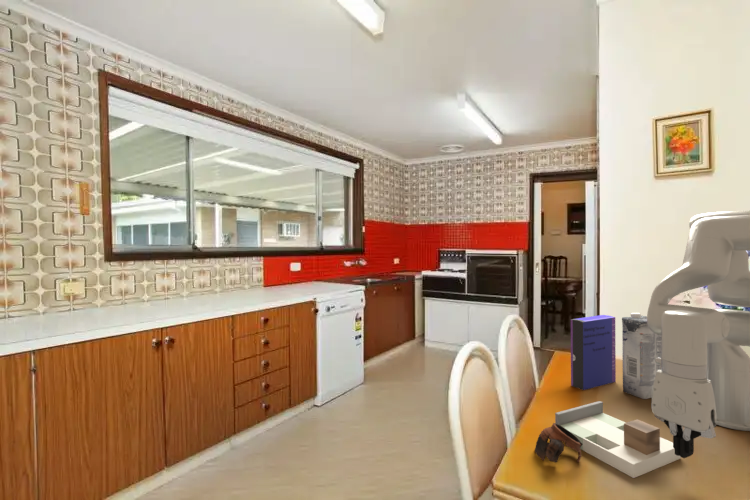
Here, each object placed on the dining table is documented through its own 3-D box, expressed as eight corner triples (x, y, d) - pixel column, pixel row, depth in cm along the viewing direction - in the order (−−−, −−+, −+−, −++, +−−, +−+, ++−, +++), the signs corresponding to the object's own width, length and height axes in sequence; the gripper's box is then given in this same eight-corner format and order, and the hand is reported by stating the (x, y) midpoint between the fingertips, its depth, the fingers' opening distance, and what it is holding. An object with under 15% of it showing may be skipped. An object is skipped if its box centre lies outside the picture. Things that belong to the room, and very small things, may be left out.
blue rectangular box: (602, 377, 140) (602, 314, 140) (615, 382, 136) (615, 316, 136) (571, 385, 133) (570, 318, 133) (583, 390, 129) (583, 321, 128)
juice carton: (666, 396, 123) (666, 314, 122) (645, 401, 119) (645, 317, 119) (638, 386, 131) (638, 310, 131) (618, 391, 127) (618, 312, 127)
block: (637, 439, 91) (637, 419, 91) (659, 449, 86) (659, 428, 86) (623, 444, 89) (623, 423, 89) (646, 455, 84) (646, 433, 84)
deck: (680, 458, 88) (680, 433, 88) (633, 478, 81) (633, 450, 81) (599, 421, 106) (599, 400, 106) (555, 435, 99) (555, 412, 99)
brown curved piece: (534, 443, 96) (550, 417, 95) (570, 472, 91) (588, 443, 90) (526, 454, 86) (545, 424, 85) (567, 486, 81) (587, 454, 80)
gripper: (635, 361, 84) (635, 442, 85) (717, 383, 71) (717, 479, 71) (655, 357, 88) (655, 435, 88) (738, 378, 74) (737, 470, 74)
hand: (683, 454), depth 79 cm, fingers closed
